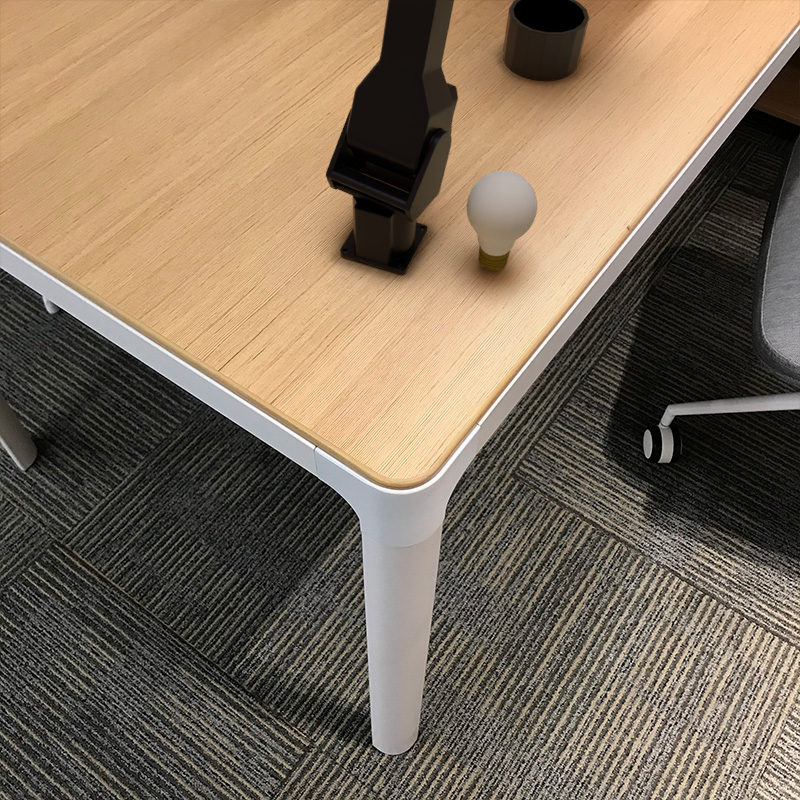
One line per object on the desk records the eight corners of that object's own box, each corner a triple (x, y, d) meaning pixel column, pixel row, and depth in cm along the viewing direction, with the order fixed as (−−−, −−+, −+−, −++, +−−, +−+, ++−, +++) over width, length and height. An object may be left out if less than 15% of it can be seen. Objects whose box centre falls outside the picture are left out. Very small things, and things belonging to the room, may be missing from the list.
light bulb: (449, 252, 71) (459, 163, 63) (507, 238, 73) (523, 149, 64) (475, 297, 68) (488, 210, 60) (534, 280, 69) (555, 193, 61)
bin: (567, 88, 87) (578, 41, 82) (493, 70, 88) (499, 23, 84) (585, 48, 92) (596, 2, 87) (514, 32, 93) (521, -14, 89)
